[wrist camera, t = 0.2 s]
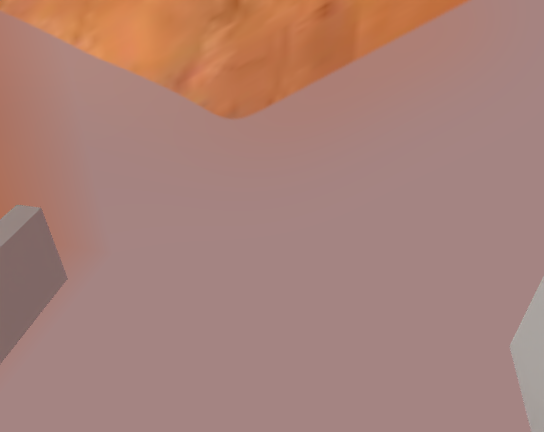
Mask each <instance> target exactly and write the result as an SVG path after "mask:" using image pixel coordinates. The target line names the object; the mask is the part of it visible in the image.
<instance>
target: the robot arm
mask: <svg viewBox="0 0 544 432" xmlns="http://www.w3.org/2000/svg"><path fill="white" fill-rule="evenodd" d="M66 280H67V276H66V273H65V270H64V267H63V265H62V262H61V259H60V257H59V254H58V251H57V249H56V246H55V244H54V241H53V238H52V235H51V233H50V230H49V227H48V225H47V222H46V219H45V217H44V214H43V212H42V209H41V208H39V207H30V206H23V205H16V206H15V207H14V208H13V209H11V210H10V211H9V212H8V213H7V214H6V215H5V216H4V217H3V218H1V220H0V364H1V363H2V361H3V360H4V359H5V358H6V356H7V355H8V354H9V352H10V351H11V350H12V349H13V347H14V346H15V345H16V344H17V342H18V341H19V340H20V338H21V337H22V336H23V335H24V333H25V332H26V331H27V330H28V328H29V327H30V326H31V325H32V323H33V322H34V321H35V319H36V318H37V317H38V315H39V314H40V313H41V312H42V310H43V309H44V308H45V307H46V305H47V304H48V303H49V302H50V300H51V299H52V298H53V296H54V295H55V294H56V293H57V292H58V290H59V289H60V288H61V286H62V285H63V284H64V283H65V281H66ZM510 350H511V354H512V357H513V362H514V365H515V370H516V373H517V377H518V381H519V385H520V389H521V393H522V397H523V401H524V405H525V409H526V413H527V417H528V421H529V425H530V429H531V432H544V276H543V279H542V281H541V283H540V285H539V287H538V289H537V291H536V293H535V295H534V297H533V299H532V301H531V303H530V305H529V307H528V309H527V312H526V313H525V316H524V318H523V320H522V322H521V324H520V326H519V328H518V330H517V332H516V334H515V336H514V338H513V340H512V342H511V344H510Z"/></svg>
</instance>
